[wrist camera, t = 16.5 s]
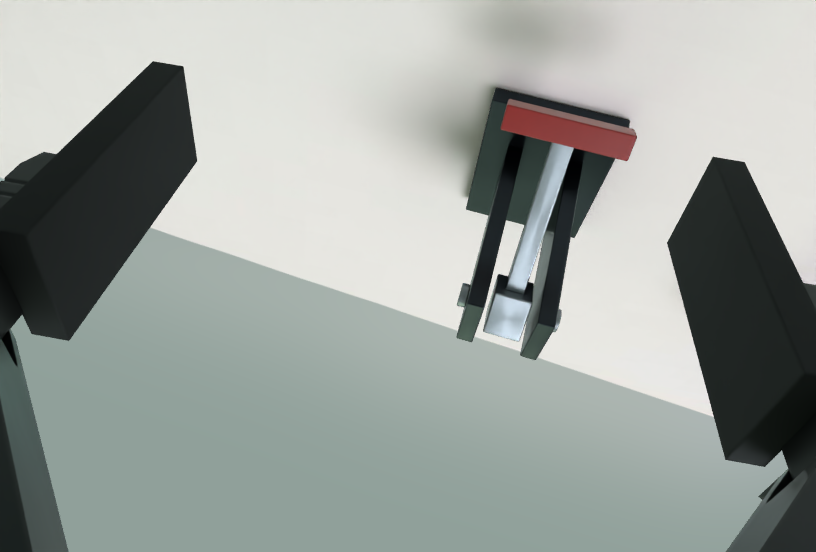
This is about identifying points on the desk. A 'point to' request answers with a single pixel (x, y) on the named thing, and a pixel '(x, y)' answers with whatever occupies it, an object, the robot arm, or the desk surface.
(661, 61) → the desk surface
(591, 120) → the lever
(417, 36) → the desk surface
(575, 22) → the desk surface
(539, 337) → the bracket
